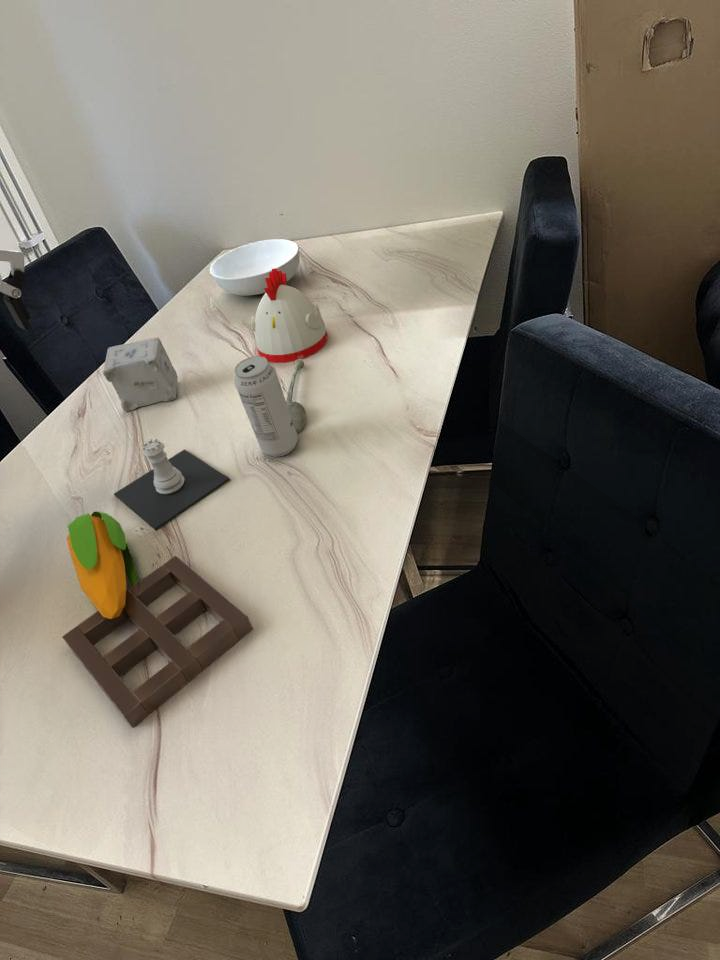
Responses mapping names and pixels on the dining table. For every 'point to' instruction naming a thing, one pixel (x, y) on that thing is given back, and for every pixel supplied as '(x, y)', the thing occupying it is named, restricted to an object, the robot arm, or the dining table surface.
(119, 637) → the dining table surface
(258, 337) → the kitchen timer
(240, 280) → the serving bowl
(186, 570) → the window frame
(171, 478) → the rook chess piece
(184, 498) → the coaster
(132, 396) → the grey block
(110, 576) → the corn
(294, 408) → the soupspoon
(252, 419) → the energy drink can
